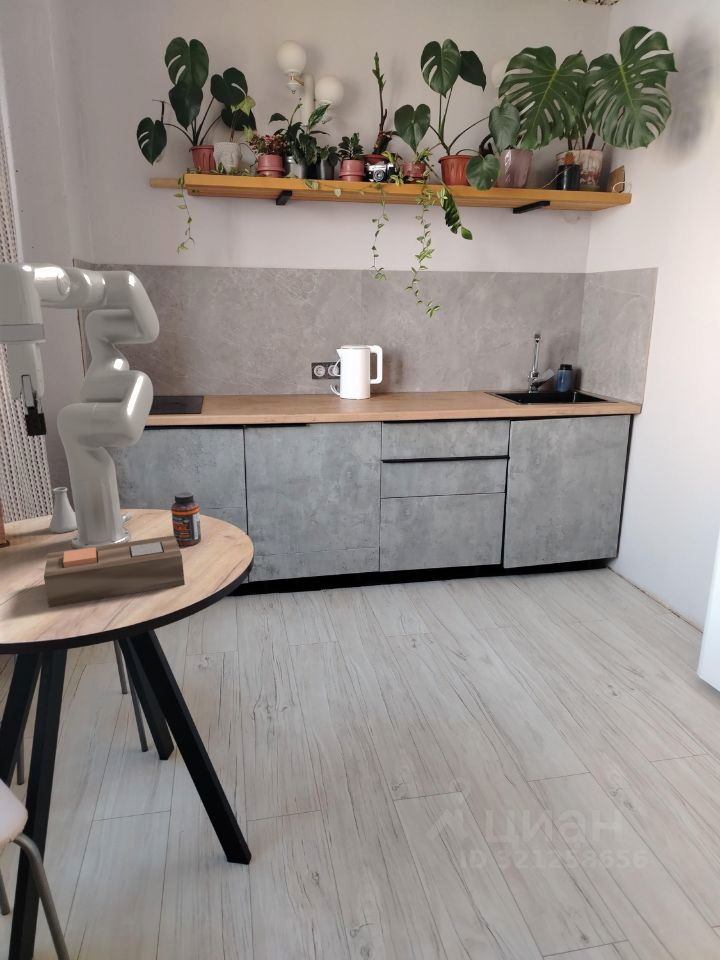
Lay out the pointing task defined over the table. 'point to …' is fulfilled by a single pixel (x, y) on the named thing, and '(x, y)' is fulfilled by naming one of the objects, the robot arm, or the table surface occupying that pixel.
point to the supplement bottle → (186, 519)
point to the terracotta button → (80, 557)
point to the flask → (62, 513)
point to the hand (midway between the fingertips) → (37, 434)
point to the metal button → (146, 549)
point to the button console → (113, 572)
